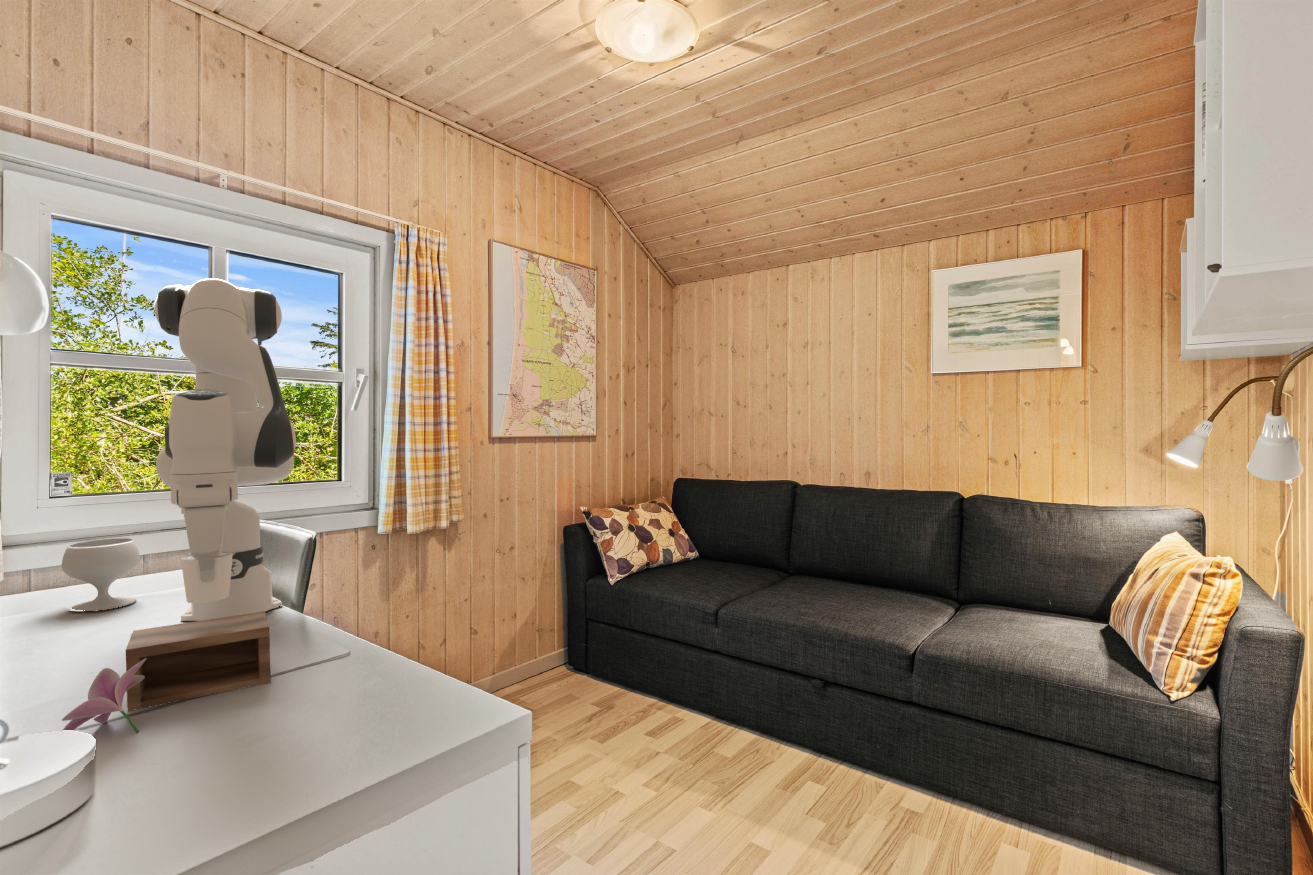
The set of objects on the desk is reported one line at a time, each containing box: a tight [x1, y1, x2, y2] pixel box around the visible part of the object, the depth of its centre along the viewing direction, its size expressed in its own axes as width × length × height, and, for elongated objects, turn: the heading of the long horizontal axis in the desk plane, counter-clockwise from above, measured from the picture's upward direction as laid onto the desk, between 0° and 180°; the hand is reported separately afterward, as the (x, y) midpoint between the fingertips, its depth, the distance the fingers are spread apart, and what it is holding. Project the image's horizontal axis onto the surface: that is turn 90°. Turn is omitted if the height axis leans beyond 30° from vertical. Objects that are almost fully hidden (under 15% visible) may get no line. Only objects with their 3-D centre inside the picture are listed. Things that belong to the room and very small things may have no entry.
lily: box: [61, 658, 147, 734], centre depth 89 cm, size 12×12×10 cm
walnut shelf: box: [125, 611, 272, 712], centre depth 105 cm, size 11×18×9 cm, turn 124°
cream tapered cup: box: [180, 552, 233, 604], centre depth 105 cm, size 7×7×7 cm
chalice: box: [61, 537, 141, 612], centre depth 154 cm, size 14×14×15 cm
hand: (207, 577), depth 105 cm, fingers closed on cream tapered cup, 5 cm apart
